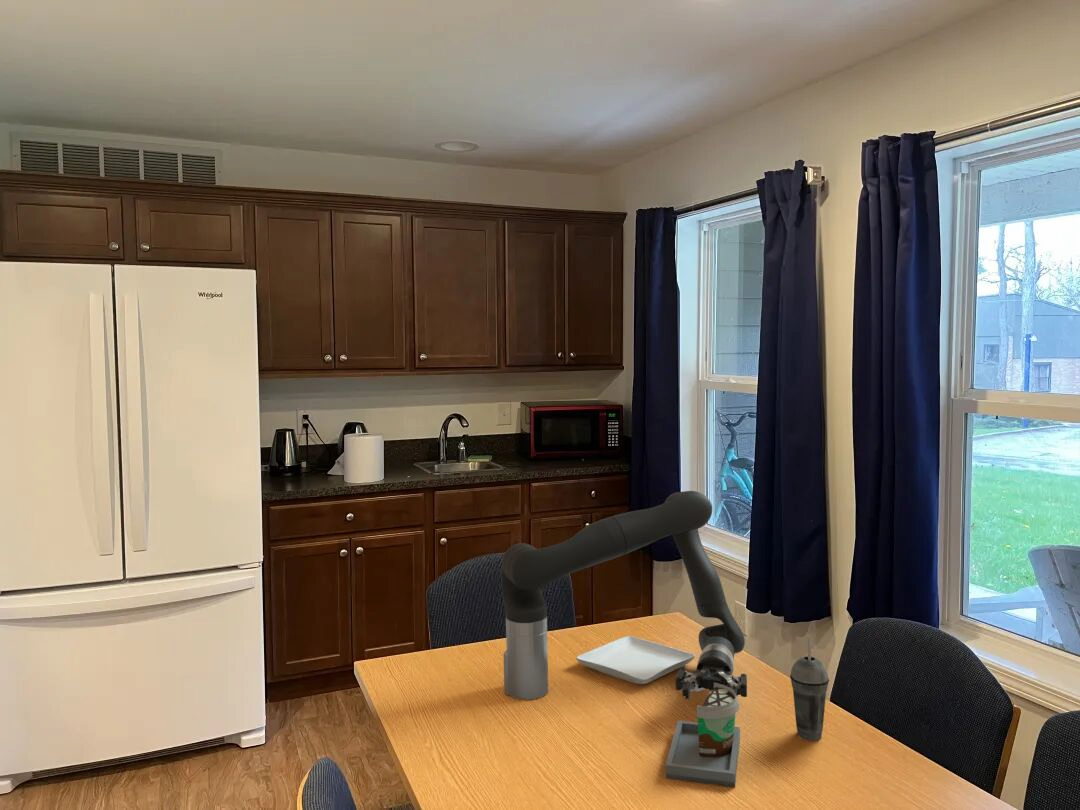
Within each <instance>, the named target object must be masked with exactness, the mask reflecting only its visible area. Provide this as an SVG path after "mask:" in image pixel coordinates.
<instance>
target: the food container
mask: <svg viewBox="0 0 1080 810" xmlns="http://www.w3.org/2000/svg"><path fill="white" fill-rule="evenodd" d="M696 708H697V709H696V719H697V723H698V735H699V756H702V757H722V756H725V755H728V754H729V753H731V752H732V745H733V741H734V727H736V726H735V725H736V724H735V723H736V714H737V713H738V712H739V710H740V703H739V699H738V697H737V696H736V694H735V692H734V691H733V690H732V689H730V688H729V687H727V686H724V685H721V684H717V683H714V689H713V691H712V690H711V692H710V693H709V694H707V695H706V697H705V699H704V700H703V702H702V704H701V705H697V707H696Z"/></svg>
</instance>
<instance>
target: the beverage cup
mask: <svg viewBox="0 0 1080 810" xmlns="http://www.w3.org/2000/svg"><path fill="white" fill-rule="evenodd" d="M811 649H812V639H811V637H810V636H809V637H807V656H802V657H800V658H798V659H797V660H796V661H795V662H794V663H793V665H792V667H791V671H790V675H789V678H790V684H791V687H792V694H793V703H794V705H793V706H794V714H795V715H794V717H795V726H796V730H797V731H796V732H797V733H796V734H797V736H798V737H799V738H800V739H802V740H804V739H805V741H808V742H810V741H811V742H816V741H820V740H821V739H822V734H823V729H824V719H825V718H824V717H825V708H826V707H825V706H826V697H827V691H828V686H829V683H830V678H829V673H828V671H827V668H826V666H825V664H824V663H823V662H822V661H821V660H819V659H818V658H816V657H813V656H812V654H811V653H812V650H811Z"/></svg>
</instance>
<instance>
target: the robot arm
mask: <svg viewBox="0 0 1080 810" xmlns="http://www.w3.org/2000/svg"><path fill="white" fill-rule="evenodd" d="M712 513H713V505H712V502H711V500H710V499H709V498H708V497H707V496H706V495H705V494H704V493H702V492H699V491H695V490H687V491H686V490H684V491H679V492H673V493H671V494H670V495H669V496H667V498H666V499H665V500H664V503H661V504H659V505H656V506H653V507H650V508H645V509H639V510H633V511H628V512H622V513H618V514H614V515H611V516H608V517H605V518H603V519H599V520H597V521H594V522H592V523H590V524H588V525H586V526H585V527H583V528H582V529H581V530H579V531H578V532H577V533H576V534H574V535H573V536H572V537H570V538H568V539H567V540H565V541H562V542H560V543H557V544H553V545H549V546H546V547H541V548H536V547H534V546H532V545H531V544H529V543H524V542H520V543H518V542H517V543H515V544H513V545H510V547H509V548H508V549H507V550H506V551H505V552H504V554H503V557H502V560H501V567H500V568H501V569H500V572H501V590H502V593H501V594H502V603H503V606H504V610H505V611H504V612H505V631H506V632H505V633H506V634H505V635H506V637H505V639H506V649H505V651H504V652H503V684H504V685H503V687H504V689H503V690H504V695H505V694H508V695H507V696H510V697H512V698H514V699H517V698H518V700H523V699H529V700H536V698H537V699H540V698H543V697H544V695H545V696H546V695H547V694H548V692H549V662H548V659H549V658H548V655H549V653H548V616H547V615H548V613H547V608H548V607H547V603H546V600H545V598H544V595H543V592H542V588H543V587H547V586H548V585H550V584H552V583H554V582H556V581H558V580H559V579H562V578H564V577H566V576H568V575H570V574H572V573H575V572H578V571H581V570H585V569H586V568H590V567H593V566H597V565H598V564H601V563H605V562H608V561H611V560H614V559H616V558H619V557H621V556H625V555H627V554H629V553H632V552H634V551H637V550H639V549H642V548H643V547H645V546H648V545H650V544H652V543H654V542H656V541H658V540H660V539H663V538H666V537H669V536H672V537H673V539H674V542H675V544H676V547H677V549H678V552H679V554H680V557H681V560H682V561H683V562H682V563H683V564H684V567H685V570H686V573H687V576H688V579H689V582H690V587H691V590H692V594H693V598H694V601H695V605H696V610H697V612H698V614H699V616H700V617H702V618H708V619H709V618H710V619H711V618H712V619H717V620H719V621H720V622H721V624H715V625H710V626H706V627H703V628H702V629H701V630H699V633H698V644H699V647H700V650H701V652H700V654H699V658H698V661H697V664H696V668H695V670H694V671H692V672H689V671H687V670H686V668H684V667H680V668H679V670H678V672H677V675H676V676H675V690H676V691H682V692H681V693H682V694H681V695H682V697H684V699H685V700H689V699H690V696H691V692H700V691H702V690H703V691H704V690H709V691H711V692H712V691H713V689H714V683H717V684H721V685H724V686H727V687H729V688H730V689H732V690H733V691H734V692H735V694H736V696H737V698H738V696H740V697H742V698H747V697H748V679H747V678H748V676H747V674H746V673H741V674H740V675H738V676H734V675H733V674H734V673H733V672H734V670H735V668H734V667H735V664H734V659H735V655H736V654H739V653H741V652H742V651H743V650H744V647H745V645H746V644H745V643H746V640H745V636H744V633H743V631H742V629H741V627H740V626H739V624H738V623H737V621H736V619H735V618H734V616H733V613H732V612H731V609H730V608H729V605H728V603H727V599H726V596H725V592H724V589H723V585H722V582H721V579H720V576H719V574H718V572H717V570H716V568H715V566H714V565H713V563H712V561H711V559H710V558H709V555H708V554H707V552H706V550H705V548H704V546H703V543H702V541H701V538H700V533H699V529H701V528H702V527H704V526H705V525H706V524H707V523H708V522H709V520H710V519H711V517H712Z"/></svg>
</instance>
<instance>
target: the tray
mask: <svg viewBox="0 0 1080 810" xmlns="http://www.w3.org/2000/svg"><path fill="white" fill-rule="evenodd" d="M740 742H741V727H739V726H735V727H734V741H733V745H732V752H731V753H729V754H728V755H725V756H722V757H702V756H699V735H698V721H697V722H694V721H688V720H677V722H676V727H675V730H674V733H673V736H672V741H671V743H670V748H669V751H668V754H667V759H666V762H665V779H671V780H678V781H684V782H692V783H699V784H707V785H714V786H723V787H730V788H736V780H737V773H738V771H737V770H738V761H739V752H740Z"/></svg>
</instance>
